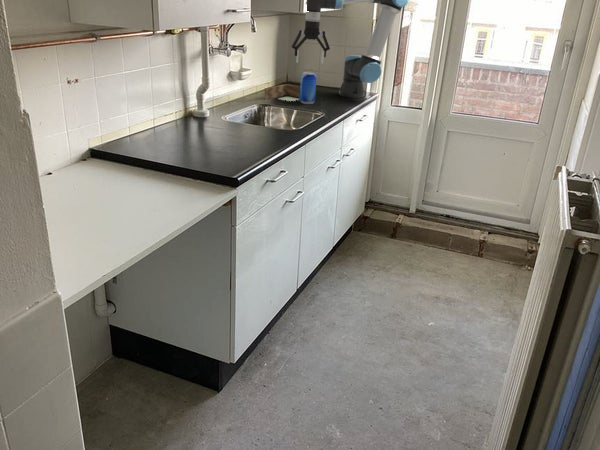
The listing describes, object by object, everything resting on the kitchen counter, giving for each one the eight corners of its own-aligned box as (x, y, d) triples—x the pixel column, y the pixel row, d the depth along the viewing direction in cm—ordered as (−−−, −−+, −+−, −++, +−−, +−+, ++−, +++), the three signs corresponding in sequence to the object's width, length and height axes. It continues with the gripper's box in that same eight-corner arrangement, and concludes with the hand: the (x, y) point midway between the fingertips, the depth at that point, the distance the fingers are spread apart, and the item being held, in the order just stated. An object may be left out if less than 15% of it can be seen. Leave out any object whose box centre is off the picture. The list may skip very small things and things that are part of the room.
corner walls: (285, 94, 309) (286, 83, 307) (309, 99, 301) (309, 88, 298) (264, 99, 294) (264, 88, 292) (287, 104, 286) (288, 93, 283)
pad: (287, 96, 304) (287, 96, 303) (300, 99, 299) (300, 99, 299) (278, 99, 297) (278, 98, 297) (290, 101, 292) (290, 101, 292)
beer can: (311, 100, 298) (313, 71, 291) (316, 104, 291) (319, 74, 284) (297, 101, 295) (299, 71, 288) (302, 104, 288) (304, 74, 281)
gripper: (289, 19, 269) (287, 63, 278) (337, 22, 273) (333, 65, 283) (287, 18, 276) (285, 60, 285) (334, 21, 280) (330, 62, 289)
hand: (309, 63), depth 284 cm, fingers open, 13 cm apart
